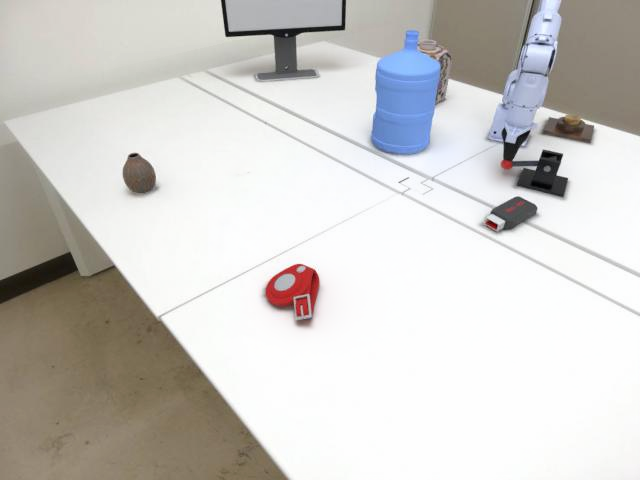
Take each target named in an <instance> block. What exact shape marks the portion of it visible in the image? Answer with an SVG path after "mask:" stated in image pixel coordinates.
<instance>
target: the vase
mask: <svg viewBox="0 0 640 480" xmlns="http://www.w3.org/2000/svg"><path fill="white" fill-rule="evenodd" d="M122 179H123V183H124V184H125V186H126V187H127V188H128V189H129V190H130V191H131V192H133V193H135V194H139V195H140V194H141V195H142V194H146V193H149V192H151V191H152V190H153V188H154V187H155V185H156V182H157V175H156V170H155V169H154V167H153V165H152V163H151V162H150V161H148V160H147V159H145V157H143V156H141V154H139V152H131V153H129V154H128V155H127V158H126V161H125V163H124V164H123V166H122Z"/></svg>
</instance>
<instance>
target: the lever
mask: <svg viewBox="0 0 640 480" xmlns="http://www.w3.org/2000/svg"><path fill="white" fill-rule="evenodd" d="M544 158H548V159H553V160H557V156H544ZM538 161H539V160H512V161H510V160H505V159H503V158H502V160H501V161H500V167H501V169H502V170H505V171H509V170H511V169H512V168H516V167H522V168H524V167H537V164H538Z"/></svg>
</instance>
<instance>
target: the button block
mask: <svg viewBox="0 0 640 480" xmlns="http://www.w3.org/2000/svg"><path fill="white" fill-rule="evenodd" d="M564 118H565V116H560V117H558V118H556V117H550V116H549V117H548V118H547V121H546V124H545V127H544V129H543V131H542V135H546V136H551V137H556V138H561V139H565V140H570V141H576V142H581V143H586V144H591V141H592V139H593V135H594V134H593V133H594V129H595V125H594V124H588V123H586V122H585V121H584V120H583V119H581V120H580V123H579V125H569V124H566V123H564V122H563V121H564Z"/></svg>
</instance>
